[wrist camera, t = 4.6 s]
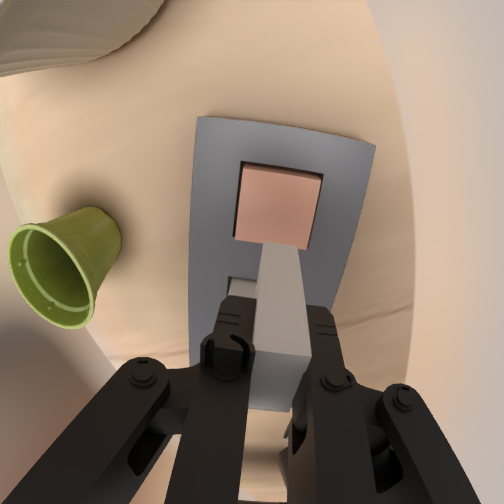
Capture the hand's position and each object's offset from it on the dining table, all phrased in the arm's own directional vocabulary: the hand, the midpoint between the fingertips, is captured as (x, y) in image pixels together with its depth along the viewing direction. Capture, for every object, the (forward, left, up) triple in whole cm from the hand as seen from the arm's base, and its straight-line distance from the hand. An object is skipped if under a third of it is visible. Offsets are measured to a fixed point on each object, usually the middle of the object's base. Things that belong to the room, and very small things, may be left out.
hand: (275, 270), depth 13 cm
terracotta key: (+1, 0, -10) cm, 10 cm away
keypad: (-8, 0, -11) cm, 14 cm away
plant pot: (-5, +17, -11) cm, 21 cm away
